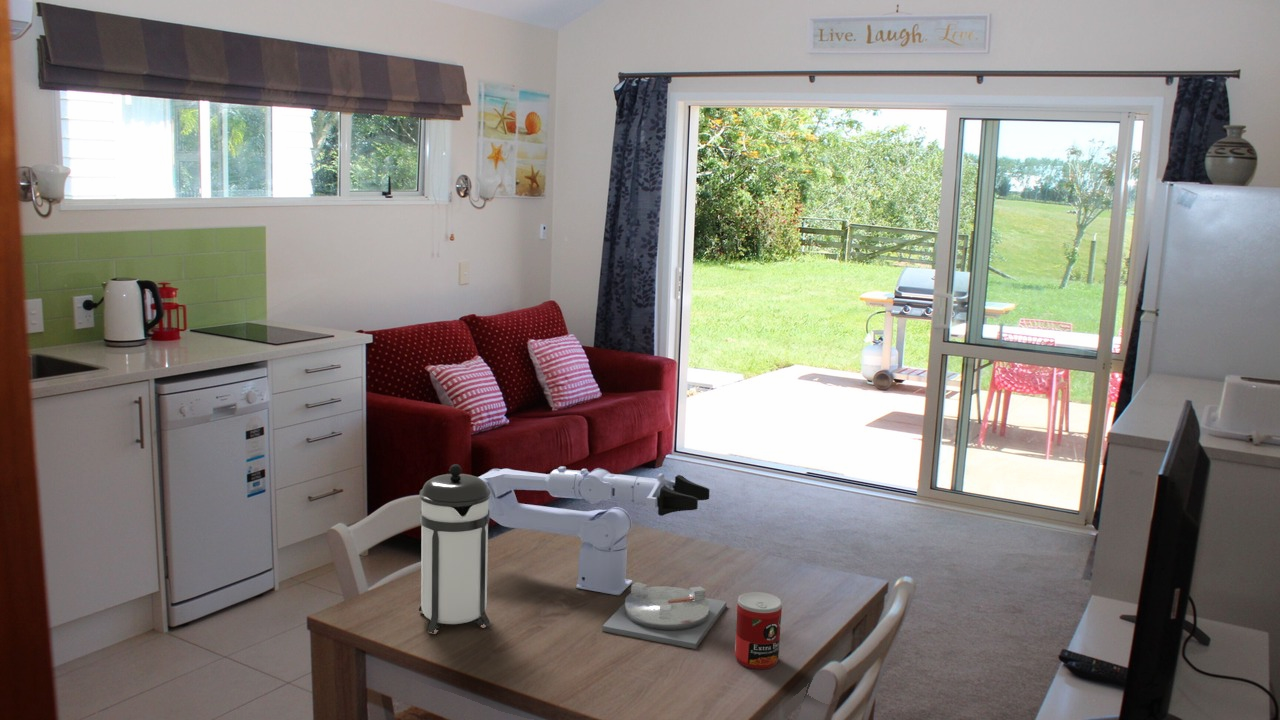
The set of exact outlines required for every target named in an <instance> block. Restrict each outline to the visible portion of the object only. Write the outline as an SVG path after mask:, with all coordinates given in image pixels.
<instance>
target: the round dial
mask: <svg viewBox="0 0 1280 720" xmlns="http://www.w3.org/2000/svg"><path fill="white" fill-rule="evenodd" d="M630 585H631V589H630V593H629V594H628V595H627V596H626V597H625V599H624V600H625V601H624V603H625V614H626V616H627V617H628V618H629V619H630V620H631V621H633V622H635V623H637V624H639V625H642V626H645V627H649V628H654V629H661V630H682V629H688V628H693V627H696V626H698V625H701V624H702V623H704V622H705V621H706V620H707V619H708V616H709V602H708V601H707V599H706V598H707V597H706V589H705V588H703V587H702V586H693V587H689V589H686V588H683V587H675V586H661V585H660V586H648V584H646V583H642V582H639V581H636V582H635V583H631V584H630Z"/></svg>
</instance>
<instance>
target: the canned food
mask: <svg viewBox="0 0 1280 720" xmlns="http://www.w3.org/2000/svg"><path fill="white" fill-rule="evenodd" d="M736 604H737V605H736V608H737V609H736V622H735V623H736V624H735V641H734V642H735V643H734V657H735V659H736V661H737V662H738V663H739V664H741V665H742V666H744V667H745V668H749V669H754V670H766V669H770V668H773V667H774V666H776V665H777V663H778V660H779V658H780V657H779V656H780V639H781V627H782V626H781V625H782V614H783V613H782V611H783V609H782V608H783V604H782V600H781V599H780V598H779V597H777V596H776V595H773V594H771V593H767V592H764V591H763V592H762V591H761V592H760V591H749V592H745V593H742V594H741V595H739V596H738V598H737V603H736Z"/></svg>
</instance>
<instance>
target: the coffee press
mask: <svg viewBox="0 0 1280 720" xmlns="http://www.w3.org/2000/svg"><path fill="white" fill-rule="evenodd" d="M448 471H449V473H446V474H441V475H437V476H434V477H432V478H430V479H429V480H427V481H426V482H424V484H423V487H422V489H420V490H419V500H420V501H421V510H420V519H419V520H420V521H419V522H420V523H419V524H421V544H420V545H421V546H420V547H421V559H420V560H421V565H420V567H421V573H420V579H421V585H420V589H421V591H420V592H421V593H420V598H421V600H420V602H421V604H420V606H419V608H418V612H419V611H422V612H423V614H424V617H426V618H427V619H429V625H428V627H427V632H428V631H429V632H432V633H434V630H435V629H436V630H439V631H440V628H441V627H442V626H443V625H444V624H445V625H458V624H459V625H460V624H464V623H465V624H466V623H469V622H475V623H476V624H477V625H478V626H479V627H480V626H481V625H483V624H485V625H486V627H485V629H486V628H488V627H489V626H490V625H491V621H490V619H489V617H488V616H487V613H486V610H487V605H488V603H487V601H488V596H487V595H488V554H489V553H488V552H489V551H488V548H489V547H488V545H489V539H488V538H489V523H490V517H489V509H488V500H489V499H490V496H491V491H490V490H489V489H488V487H487V484H486V483H485V482H484V481H483V480H482V479H480V478H478V477H479V476H475V475H472V474H466V473H462V471H463V469H462V466H460V465H459V464H457V463H456V464H455V463H454V464H452V465H451V466H450V467H449V469H448ZM480 617H481V618H480ZM482 620H483V621H482ZM487 626H488V627H487Z"/></svg>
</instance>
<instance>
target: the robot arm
mask: <svg viewBox="0 0 1280 720" xmlns="http://www.w3.org/2000/svg"><path fill="white" fill-rule="evenodd" d="M477 477H478V478H480V479H482V480H483V481H484V482H485V483H486V484H487V487H488V489H489V490H490V491H491V496H490V499H489V500H488V509H489V519H491V520H493V522H496V523H497V524H499V525H500V526H501V527H502V526H503V527H506V528H512V529H520V530H527V531H534V532H541V533H542V532H543V533H551V534H557V535H566V536H571V537H573V536H574V537H579V539H580V540H581V542H582V545H581V546H580V549H579V552H578V563H577V564H578V566H577V584H576V585H575V586H576V588H577V589H581V590H585V591H586V590H587V591H593V592H596V593H597V592H599V593H602V594H609V595H613V596H620V595H621V594H622V593H623V592H624V591H625V590H626V589H627V588H628V587H630V585H632V584H633V580H632V579H629V578H628V579H627V578H626V576H627V555H628V554H627V551H628V542H627V535H628V534H629V533H630V532H631V530H632V527H633V521H632V518H631V517H632V516H631V515H630V514H629V513H628V511H627V510H626V509H625V508H622V507H619V506H617V507H616V506H615V507H614V506H613V507H610V508H609V509H595V510H588V511H584V510H583V511H582V510H575V509H568V508H562V507H561V508H560V507H559V508H558V507H551V506H544V505H535V504H528V503H527V504H525V503H520V502H518V500H517V497H516V494H515V490H517V491H519V490H520V491H521V490H522V491H523V490H525V491H547V492H548V493H549V495H550V496H551V497H554V498H566V499H574V500H575V499H577V500H578V499H579V500H586V502H588V503H589V504H590V505H595V504H598V503H601V501H603V502H612V503H617V504H624V505H631V506H639V507H640V506H641V507H645V508H647V509H654V510H655V509H656V510H657V513H658V516H659V517H662V516H663V517H664V516H666V515H669V514H671V513H676V512H686V511H687V512H688V511H695V510H697V509H698V505H699V504H698V503H699V501H708V500H709V499H710V492H711V491H710V490H711V489H710V488H708V487H706V486H703V485H701V484H697V483H695V482H692V481H691V480H689V479H687V478H686V477H685V476H683V475H680V474H677V475H675V478H674V480H672V479H671V480H669V479H666V478H665V474H664V473H659V474H657V478H653V477H643V476H636V475H628V474H620V473H619V474H615V473H611V472H610V471H608V470H607V469H603V468H601V467H597V468H594V469H593V470H591V471H588V469H587V468H582V469H581V470H577V469H576V470H574V469H573V470H572V469H567V467H566V466H561V465H560V466H559V467H557V468H556V469H553V470H552V471H550V473H547V474H546V473H541V472H540V473H539V472H531V471H524V470H516V469H512V468H502V469H500V468H492V469H490V470H488V471H487V472H485V473H483V474H481V475H480V476H477Z"/></svg>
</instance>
